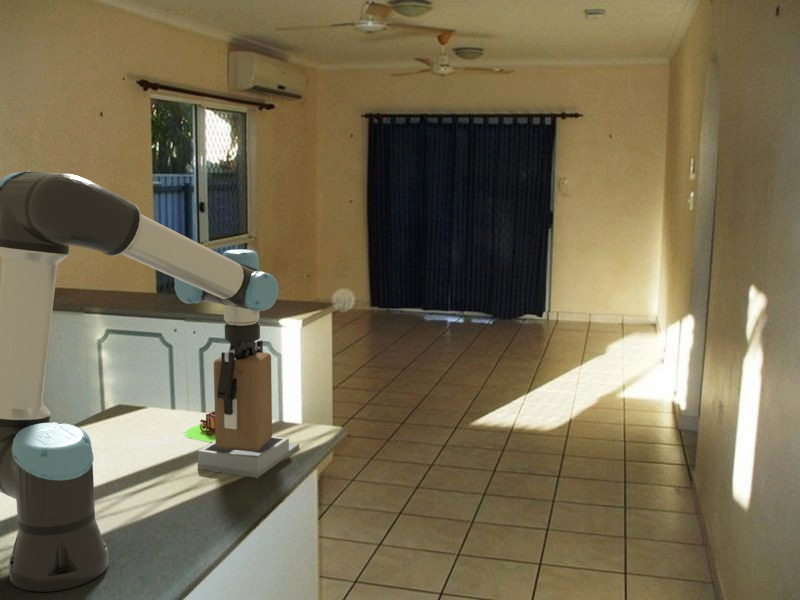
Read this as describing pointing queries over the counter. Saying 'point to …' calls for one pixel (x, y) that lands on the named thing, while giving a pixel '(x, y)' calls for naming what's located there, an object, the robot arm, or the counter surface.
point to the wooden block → (246, 404)
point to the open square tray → (245, 458)
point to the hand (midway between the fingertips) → (244, 420)
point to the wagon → (203, 429)
